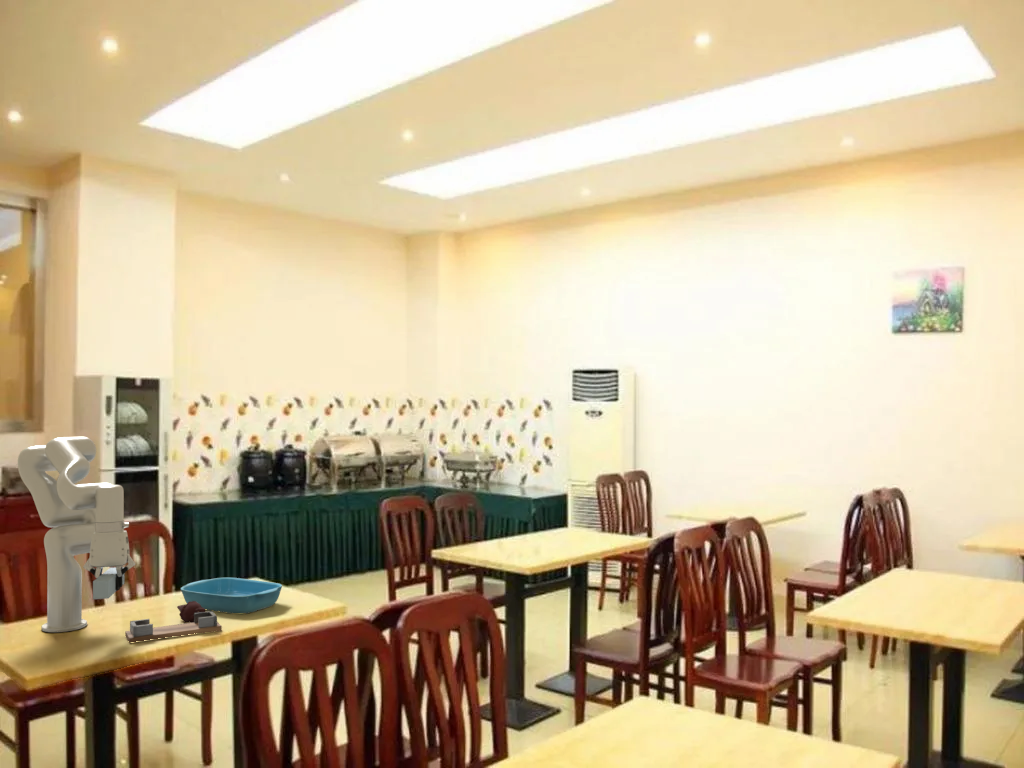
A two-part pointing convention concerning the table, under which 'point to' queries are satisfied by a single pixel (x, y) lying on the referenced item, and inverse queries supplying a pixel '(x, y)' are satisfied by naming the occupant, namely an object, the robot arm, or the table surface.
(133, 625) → the end caps
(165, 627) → the board
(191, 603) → the icecream
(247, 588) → the casserole dish
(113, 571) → the slat
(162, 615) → the table surface
